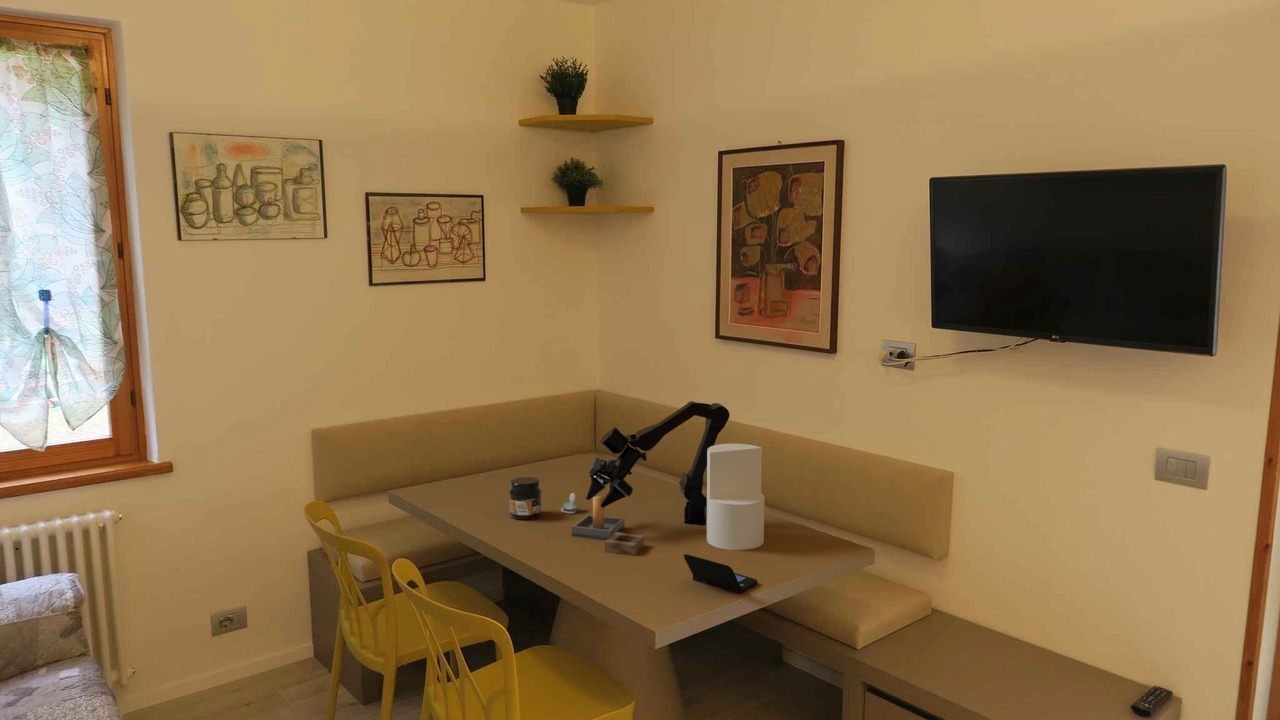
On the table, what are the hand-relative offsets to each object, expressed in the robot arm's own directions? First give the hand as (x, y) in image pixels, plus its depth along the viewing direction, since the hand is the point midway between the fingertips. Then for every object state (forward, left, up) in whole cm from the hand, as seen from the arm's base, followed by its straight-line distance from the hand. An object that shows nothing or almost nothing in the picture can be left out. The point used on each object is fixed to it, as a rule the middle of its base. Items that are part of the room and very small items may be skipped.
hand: (594, 503), depth 274 cm
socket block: (-14, +10, -10) cm, 20 cm away
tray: (-1, -1, -10) cm, 10 cm away
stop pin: (-1, -1, -9) cm, 9 cm away
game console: (-48, +27, -10) cm, 56 cm away
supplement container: (+28, -8, -10) cm, 31 cm away
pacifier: (+16, -17, -10) cm, 26 cm away
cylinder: (-43, -8, -10) cm, 45 cm away
